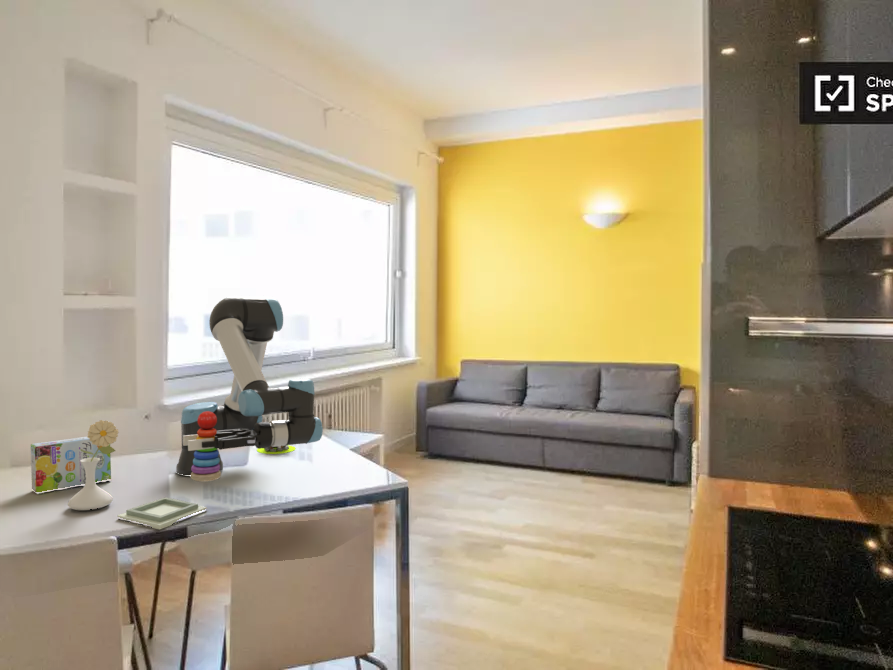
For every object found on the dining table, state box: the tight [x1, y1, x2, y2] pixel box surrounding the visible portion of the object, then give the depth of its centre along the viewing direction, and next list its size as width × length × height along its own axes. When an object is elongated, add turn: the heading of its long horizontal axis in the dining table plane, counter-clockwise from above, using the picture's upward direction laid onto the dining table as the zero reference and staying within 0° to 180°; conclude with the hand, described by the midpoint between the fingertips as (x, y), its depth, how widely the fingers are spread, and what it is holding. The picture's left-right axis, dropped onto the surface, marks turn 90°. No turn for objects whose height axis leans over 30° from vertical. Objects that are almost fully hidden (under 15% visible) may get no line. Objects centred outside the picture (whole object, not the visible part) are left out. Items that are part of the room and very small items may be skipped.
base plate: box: [117, 496, 207, 530], centre depth 179 cm, size 16×16×2 cm
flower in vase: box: [67, 419, 120, 511], centre depth 185 cm, size 13×11×25 cm
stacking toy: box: [190, 411, 222, 482], centre depth 179 cm, size 8×8×19 cm
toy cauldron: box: [256, 445, 296, 455], centre depth 257 cm, size 15×15×11 cm
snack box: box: [30, 436, 112, 492], centre depth 204 cm, size 21×6×15 cm, turn 134°
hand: (185, 443), depth 177 cm, fingers closed on stacking toy, 6 cm apart
